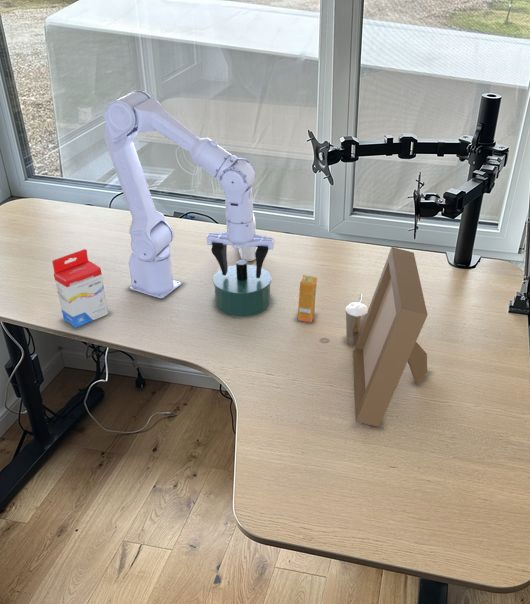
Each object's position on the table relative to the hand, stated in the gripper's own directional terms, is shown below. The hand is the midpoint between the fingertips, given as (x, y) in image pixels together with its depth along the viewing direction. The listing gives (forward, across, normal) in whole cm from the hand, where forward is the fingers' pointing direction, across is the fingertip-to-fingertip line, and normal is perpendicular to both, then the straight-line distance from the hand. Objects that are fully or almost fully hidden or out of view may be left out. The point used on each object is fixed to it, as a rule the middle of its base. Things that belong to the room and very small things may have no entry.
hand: (241, 274), depth 148 cm
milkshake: (+7, +27, -12) cm, 30 cm away
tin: (+7, 0, 0) cm, 7 cm away
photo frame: (+7, +35, -28) cm, 45 cm away
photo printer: (+8, -4, +25) cm, 26 cm away
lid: (+1, 0, 0) cm, 1 cm away
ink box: (+8, -33, -11) cm, 36 cm away
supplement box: (+8, +15, -4) cm, 18 cm away
